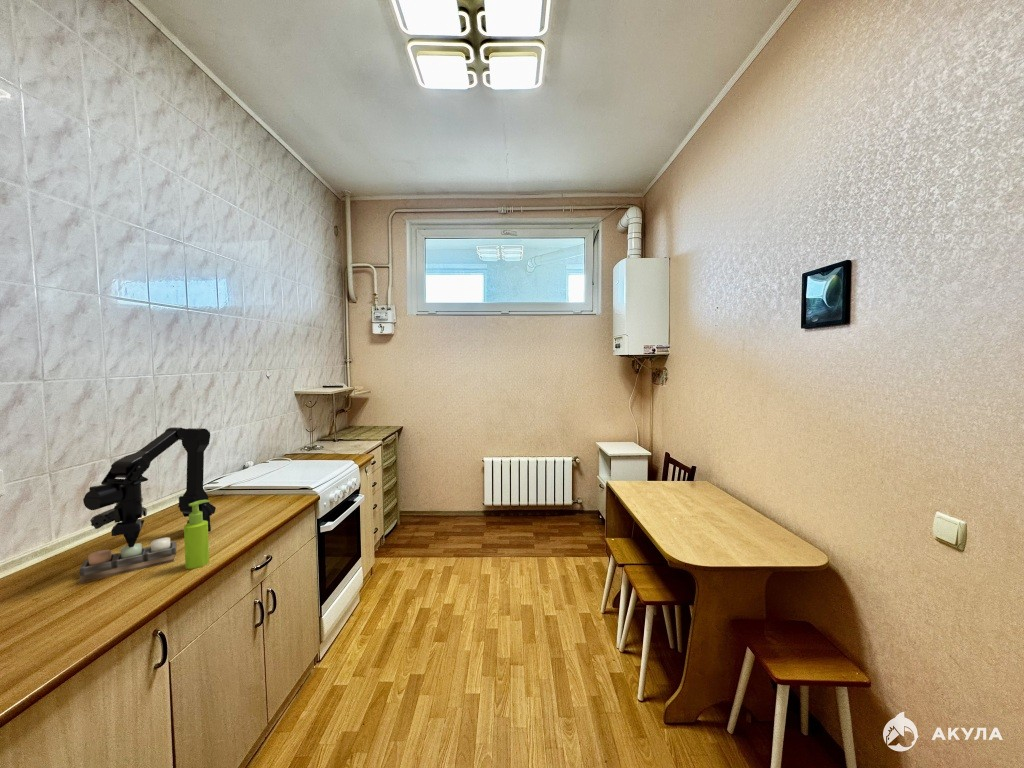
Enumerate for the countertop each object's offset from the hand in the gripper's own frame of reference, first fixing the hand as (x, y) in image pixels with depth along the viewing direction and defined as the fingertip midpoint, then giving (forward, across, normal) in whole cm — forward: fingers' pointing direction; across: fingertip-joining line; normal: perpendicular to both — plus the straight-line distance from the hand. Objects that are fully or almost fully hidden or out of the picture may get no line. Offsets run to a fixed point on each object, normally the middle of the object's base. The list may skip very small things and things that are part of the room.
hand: (131, 546), depth 125 cm
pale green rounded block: (+4, 0, 0) cm, 4 cm away
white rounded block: (+4, 0, +7) cm, 8 cm away
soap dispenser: (+6, +14, +17) cm, 23 cm away
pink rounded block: (+4, 0, -7) cm, 8 cm away
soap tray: (+5, 0, 0) cm, 5 cm away
